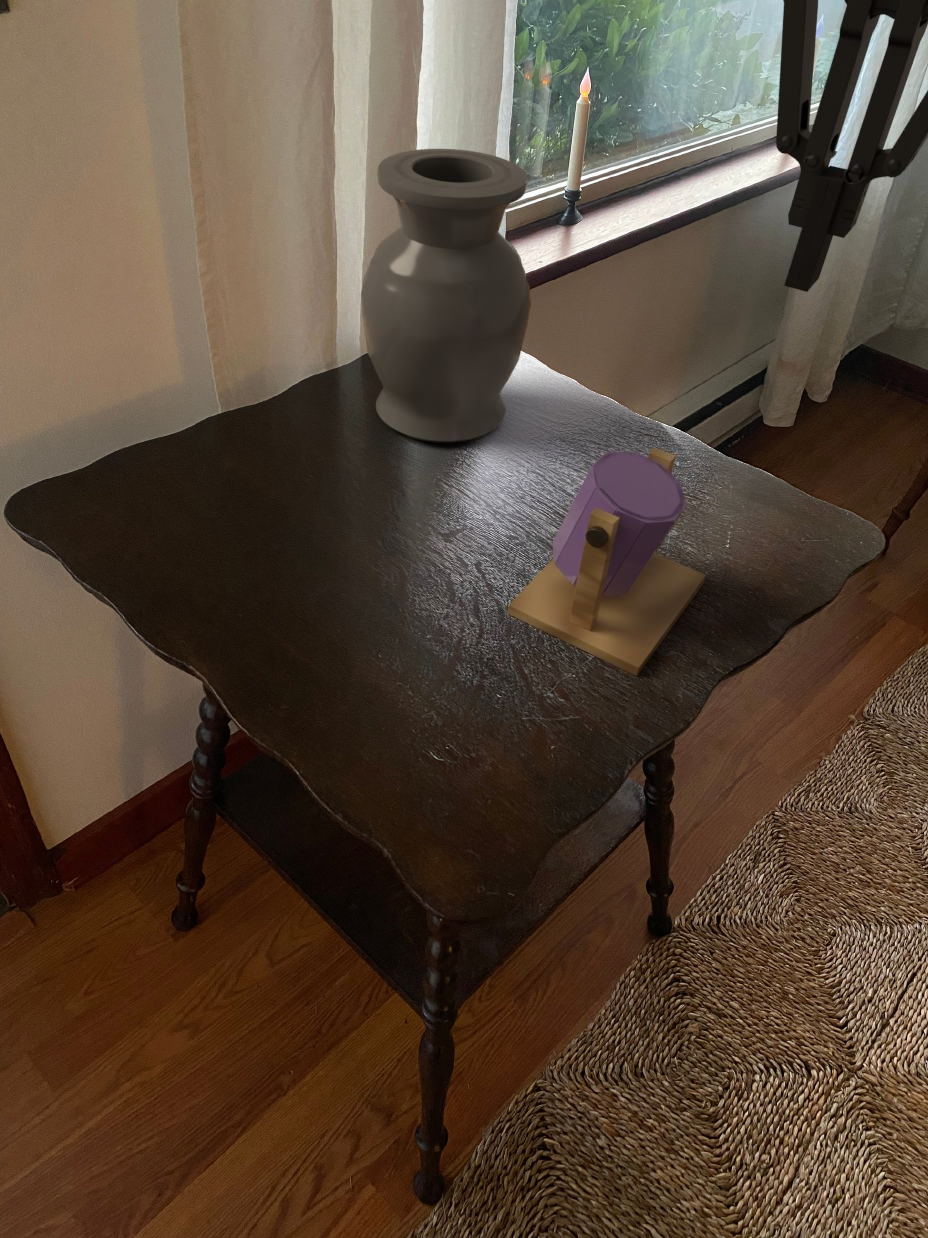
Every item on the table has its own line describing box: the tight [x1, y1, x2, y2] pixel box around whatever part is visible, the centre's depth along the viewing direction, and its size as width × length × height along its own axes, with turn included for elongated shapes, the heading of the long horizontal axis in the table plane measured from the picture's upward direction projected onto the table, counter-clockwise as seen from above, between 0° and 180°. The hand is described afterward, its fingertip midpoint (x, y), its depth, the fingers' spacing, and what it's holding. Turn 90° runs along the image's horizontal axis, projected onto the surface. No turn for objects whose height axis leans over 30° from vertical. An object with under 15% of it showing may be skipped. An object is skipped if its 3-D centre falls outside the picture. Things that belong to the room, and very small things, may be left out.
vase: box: [360, 148, 532, 444], centre depth 89 cm, size 17×17×25 cm
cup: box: [551, 450, 687, 597], centre depth 72 cm, size 8×9×9 cm
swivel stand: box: [507, 447, 707, 677], centre depth 73 cm, size 12×14×12 cm
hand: (801, 281), depth 57 cm, fingers closed
